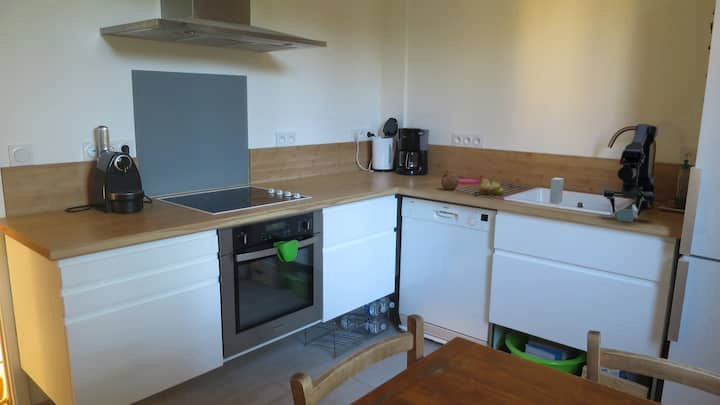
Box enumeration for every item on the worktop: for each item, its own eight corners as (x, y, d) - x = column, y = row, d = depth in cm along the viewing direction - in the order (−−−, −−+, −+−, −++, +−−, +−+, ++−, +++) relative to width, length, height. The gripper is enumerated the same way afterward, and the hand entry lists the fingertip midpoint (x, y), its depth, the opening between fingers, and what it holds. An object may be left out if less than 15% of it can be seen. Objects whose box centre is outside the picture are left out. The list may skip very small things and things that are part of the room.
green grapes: (505, 194, 273) (506, 179, 271) (499, 197, 265) (500, 181, 264) (482, 191, 280) (483, 177, 279) (475, 194, 272) (476, 179, 271)
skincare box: (553, 201, 256) (555, 177, 254) (562, 202, 254) (564, 178, 251) (548, 203, 252) (551, 178, 249) (557, 204, 249) (560, 179, 247)
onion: (443, 195, 284) (435, 179, 282) (448, 188, 292) (441, 172, 289) (458, 191, 279) (451, 174, 276) (463, 184, 286) (456, 168, 284)
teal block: (617, 217, 223) (618, 208, 222) (631, 219, 221) (632, 210, 220) (617, 220, 217) (618, 211, 216) (632, 222, 215) (633, 213, 214)
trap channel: (610, 209, 239) (611, 202, 238) (634, 211, 235) (635, 204, 235) (611, 216, 225) (612, 209, 225) (637, 218, 222) (638, 211, 221)
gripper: (606, 179, 212) (602, 216, 215) (658, 182, 205) (653, 220, 208) (605, 175, 222) (601, 210, 225) (654, 178, 215) (649, 215, 218)
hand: (625, 214), depth 219 cm, fingers open, 9 cm apart
